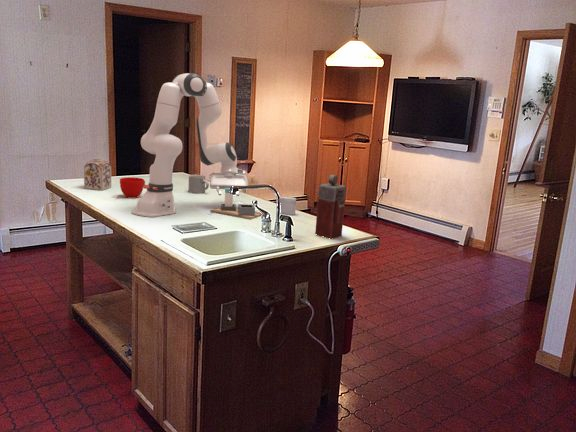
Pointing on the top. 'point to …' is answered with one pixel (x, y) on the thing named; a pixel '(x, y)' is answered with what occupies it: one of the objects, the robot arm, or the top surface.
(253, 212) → the block
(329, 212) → the brown rectangular canister
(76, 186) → the top surface
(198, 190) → the coffee mug
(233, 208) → the holster
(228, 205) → the plug
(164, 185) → the robot arm
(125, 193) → the ceramic cup
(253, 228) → the top surface
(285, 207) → the medicine box
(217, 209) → the board
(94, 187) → the decorative jar
